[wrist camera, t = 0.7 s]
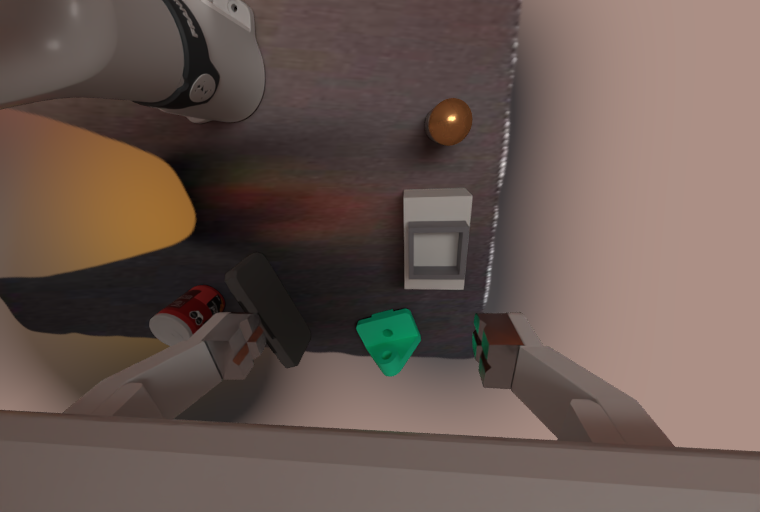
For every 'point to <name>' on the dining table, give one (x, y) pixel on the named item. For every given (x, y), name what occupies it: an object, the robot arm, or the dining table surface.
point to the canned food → (186, 314)
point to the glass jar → (449, 122)
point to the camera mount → (390, 338)
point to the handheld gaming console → (270, 307)
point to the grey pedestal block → (436, 237)
